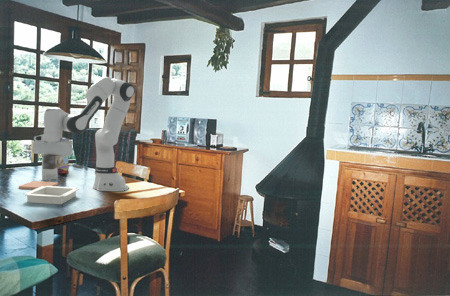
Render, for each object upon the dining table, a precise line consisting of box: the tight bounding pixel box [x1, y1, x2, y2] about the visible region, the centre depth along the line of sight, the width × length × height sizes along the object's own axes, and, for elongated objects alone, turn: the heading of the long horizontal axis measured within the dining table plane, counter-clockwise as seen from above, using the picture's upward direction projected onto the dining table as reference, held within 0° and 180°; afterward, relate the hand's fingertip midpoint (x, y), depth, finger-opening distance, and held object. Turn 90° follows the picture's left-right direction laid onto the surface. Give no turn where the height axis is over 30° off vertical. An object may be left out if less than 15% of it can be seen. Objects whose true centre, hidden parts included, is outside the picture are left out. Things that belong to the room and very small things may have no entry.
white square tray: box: [23, 185, 80, 205], centre depth 176 cm, size 22×22×4 cm
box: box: [42, 155, 64, 169], centre depth 174 cm, size 5×12×7 cm, turn 2°
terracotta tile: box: [18, 180, 59, 191], centre depth 200 cm, size 16×16×2 cm
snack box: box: [57, 137, 69, 175], centre depth 252 cm, size 22×9×26 cm, turn 33°
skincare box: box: [41, 156, 58, 182], centre depth 222 cm, size 8×7×16 cm
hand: (52, 162), depth 173 cm, fingers closed on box, 5 cm apart
